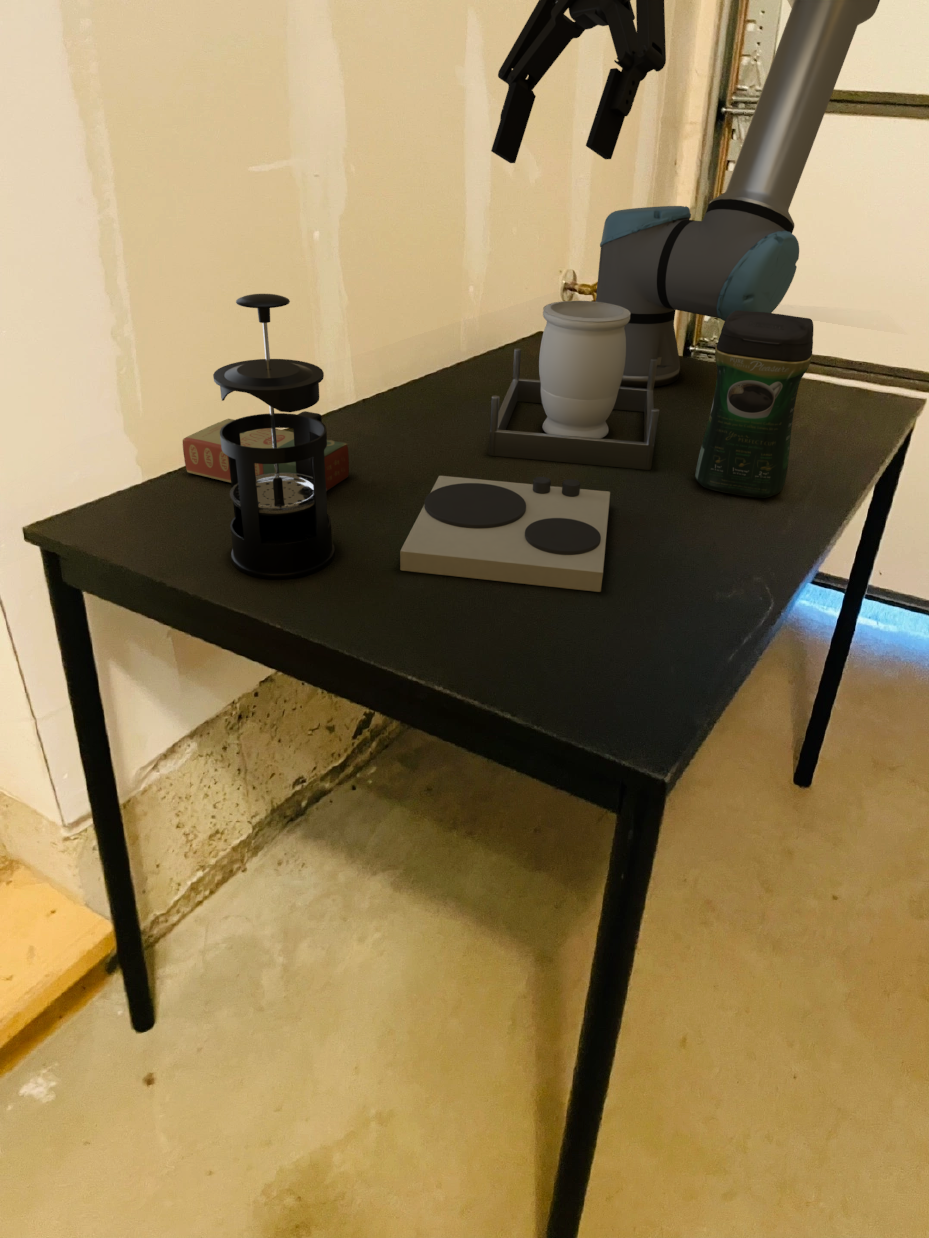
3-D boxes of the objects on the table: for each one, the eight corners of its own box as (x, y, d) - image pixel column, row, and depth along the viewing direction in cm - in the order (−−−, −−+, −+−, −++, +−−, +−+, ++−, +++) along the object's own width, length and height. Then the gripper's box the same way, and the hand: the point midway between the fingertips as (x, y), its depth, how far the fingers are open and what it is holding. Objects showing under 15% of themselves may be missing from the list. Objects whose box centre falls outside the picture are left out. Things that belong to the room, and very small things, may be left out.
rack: (511, 399, 125) (514, 348, 122) (650, 410, 123) (657, 358, 119) (488, 455, 107) (491, 397, 103) (651, 470, 104) (659, 411, 101)
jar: (613, 450, 110) (628, 323, 102) (528, 441, 111) (537, 316, 104) (618, 421, 119) (633, 303, 111) (539, 414, 120) (548, 296, 112)
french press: (295, 592, 78) (274, 317, 66) (205, 568, 81) (170, 302, 69) (362, 538, 87) (354, 288, 76) (279, 519, 90) (259, 276, 79)
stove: (438, 492, 97) (439, 464, 96) (608, 509, 95) (611, 480, 93) (400, 570, 82) (399, 538, 80) (600, 592, 80) (604, 560, 78)
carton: (232, 451, 106) (229, 415, 104) (351, 477, 100) (350, 440, 98) (185, 474, 99) (180, 437, 97) (309, 504, 94) (306, 465, 91)
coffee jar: (786, 480, 103) (825, 311, 93) (777, 506, 97) (817, 328, 87) (701, 465, 106) (730, 301, 97) (686, 489, 100) (716, 316, 90)
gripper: (507, -82, 89) (441, 142, 93) (710, -154, 70) (617, 129, 74) (559, -37, 94) (495, 174, 98) (761, -93, 75) (671, 170, 79)
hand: (547, 155), depth 86 cm, fingers open, 13 cm apart
